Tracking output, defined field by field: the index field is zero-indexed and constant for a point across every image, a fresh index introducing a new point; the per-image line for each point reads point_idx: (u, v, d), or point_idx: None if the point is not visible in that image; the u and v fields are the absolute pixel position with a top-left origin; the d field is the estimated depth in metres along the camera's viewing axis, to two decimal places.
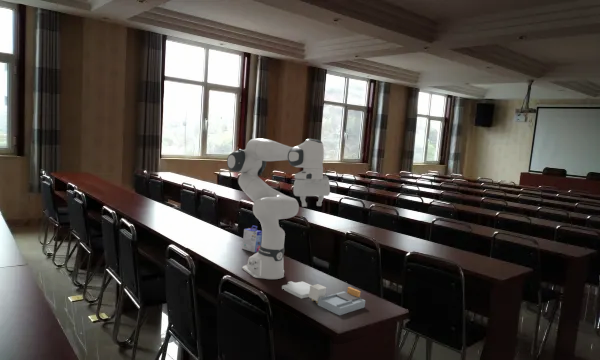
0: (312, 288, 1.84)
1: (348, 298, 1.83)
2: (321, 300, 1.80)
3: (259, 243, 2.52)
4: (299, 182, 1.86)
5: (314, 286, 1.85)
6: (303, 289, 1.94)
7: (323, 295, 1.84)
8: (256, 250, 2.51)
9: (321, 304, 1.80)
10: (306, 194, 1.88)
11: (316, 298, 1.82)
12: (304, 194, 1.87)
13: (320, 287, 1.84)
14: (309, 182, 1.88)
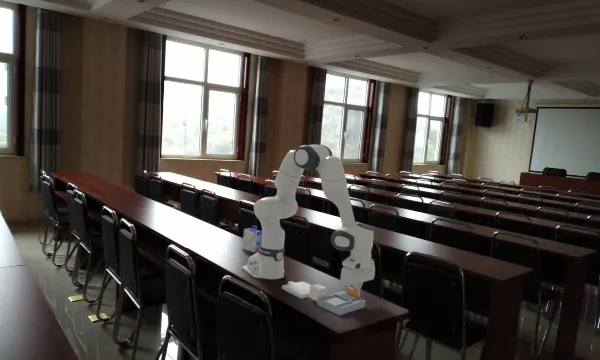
0: (312, 288, 1.84)
1: (348, 298, 1.83)
2: (321, 300, 1.80)
3: (259, 243, 2.52)
4: (347, 272, 1.81)
5: (314, 286, 1.85)
6: (303, 289, 1.94)
7: (323, 295, 1.84)
8: (256, 250, 2.51)
9: (321, 304, 1.80)
10: (353, 283, 1.84)
11: (316, 298, 1.82)
12: (351, 283, 1.83)
13: (320, 287, 1.84)
14: (357, 271, 1.84)
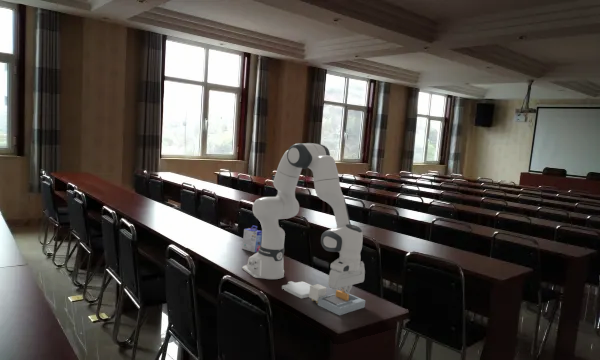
0: (312, 288, 1.84)
1: (336, 302, 1.77)
2: (321, 300, 1.80)
3: (259, 243, 2.52)
4: (335, 275, 1.75)
5: (314, 286, 1.85)
6: (303, 289, 1.94)
7: (323, 295, 1.84)
8: (256, 250, 2.51)
9: (321, 304, 1.80)
10: (341, 286, 1.78)
11: (316, 298, 1.82)
12: (339, 286, 1.77)
13: (320, 287, 1.84)
14: (345, 273, 1.78)
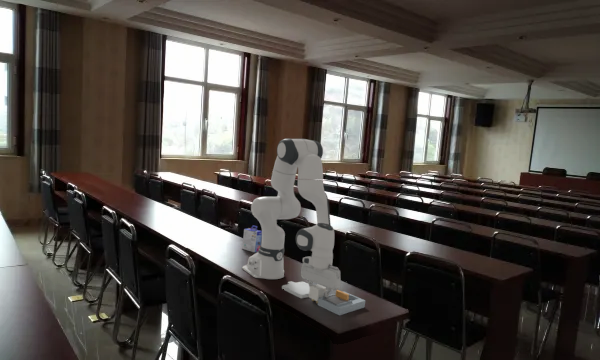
0: (312, 288, 1.84)
1: (336, 302, 1.77)
2: (321, 300, 1.80)
3: (259, 243, 2.52)
4: None
5: (314, 286, 1.84)
6: (303, 289, 1.94)
7: None
8: (256, 250, 2.51)
9: (321, 304, 1.80)
10: (307, 278, 1.86)
11: (316, 298, 1.82)
12: (305, 277, 1.87)
13: (320, 287, 1.84)
14: (309, 267, 1.85)
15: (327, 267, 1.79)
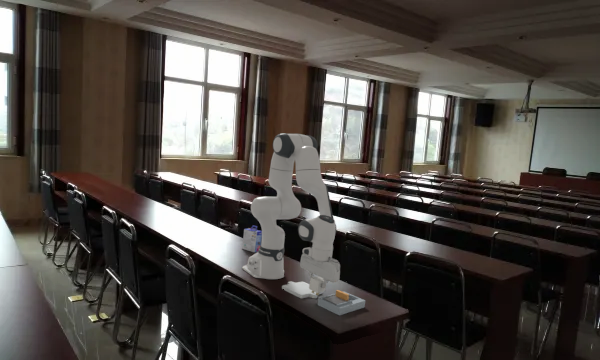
0: (312, 280, 1.84)
1: (336, 302, 1.77)
2: (321, 300, 1.80)
3: (259, 243, 2.52)
4: None
5: (314, 278, 1.85)
6: (303, 289, 1.94)
7: None
8: (256, 250, 2.51)
9: (321, 304, 1.80)
10: (307, 269, 1.87)
11: (316, 290, 1.83)
12: (305, 268, 1.88)
13: (320, 279, 1.84)
14: (309, 258, 1.86)
15: (327, 259, 1.80)
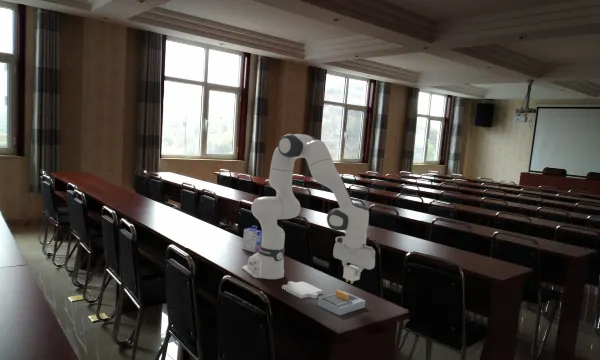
0: (347, 268, 1.83)
1: (336, 302, 1.77)
2: (321, 300, 1.80)
3: (259, 243, 2.52)
4: None
5: (348, 266, 1.84)
6: (303, 289, 1.94)
7: None
8: (256, 250, 2.51)
9: (321, 304, 1.80)
10: (340, 258, 1.87)
11: (351, 278, 1.82)
12: (338, 257, 1.88)
13: (354, 268, 1.84)
14: (343, 247, 1.85)
15: (361, 247, 1.80)
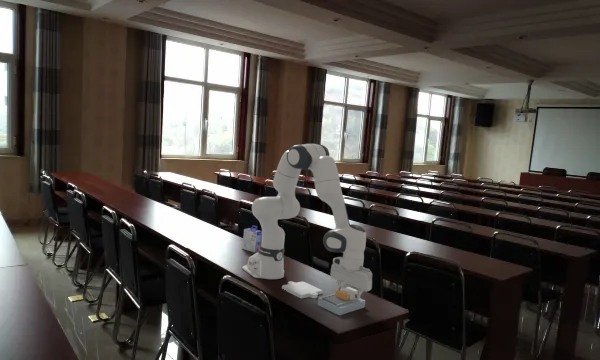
0: (344, 291, 1.84)
1: (336, 302, 1.77)
2: (321, 300, 1.80)
3: (259, 243, 2.52)
4: None
5: (345, 289, 1.85)
6: (303, 289, 1.94)
7: (355, 298, 1.85)
8: (256, 250, 2.51)
9: (321, 304, 1.80)
10: (337, 278, 1.88)
11: None
12: (335, 278, 1.89)
13: (351, 290, 1.85)
14: (340, 268, 1.86)
15: (358, 268, 1.81)
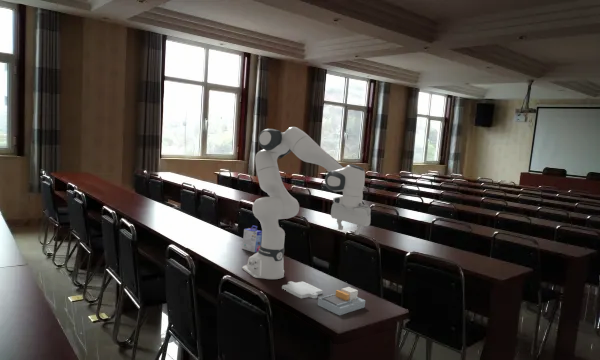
0: (344, 291, 1.84)
1: (336, 302, 1.77)
2: (321, 300, 1.80)
3: (259, 243, 2.52)
4: None
5: (345, 289, 1.85)
6: (303, 289, 1.94)
7: (355, 298, 1.85)
8: (256, 250, 2.51)
9: (321, 304, 1.80)
10: (337, 217, 1.96)
11: None
12: (335, 217, 1.97)
13: (351, 290, 1.85)
14: (340, 206, 1.94)
15: (358, 205, 1.89)
